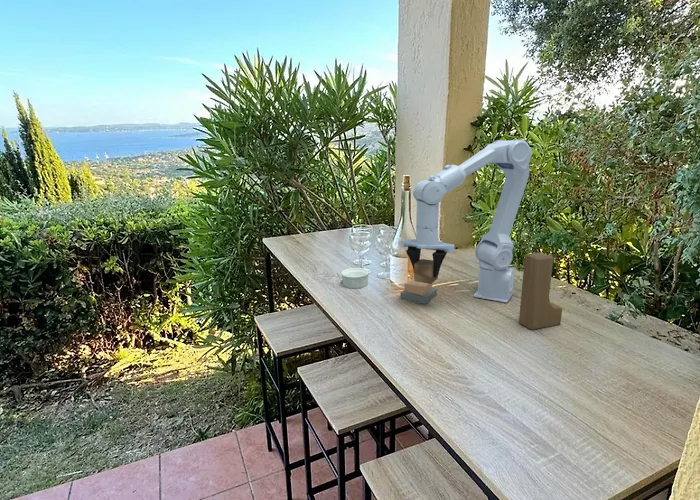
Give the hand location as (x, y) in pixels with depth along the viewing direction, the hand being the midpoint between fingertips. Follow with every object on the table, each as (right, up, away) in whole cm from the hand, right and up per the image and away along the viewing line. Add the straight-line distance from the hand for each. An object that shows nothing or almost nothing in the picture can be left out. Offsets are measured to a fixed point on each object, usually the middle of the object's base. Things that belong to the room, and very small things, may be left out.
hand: (426, 274), depth 109 cm
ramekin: (-19, -5, +20) cm, 28 cm away
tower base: (-1, -8, +8) cm, 11 cm away
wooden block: (+26, -12, -11) cm, 30 cm away
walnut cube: (0, -1, 0) cm, 1 cm away
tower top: (-1, -5, +8) cm, 9 cm away
